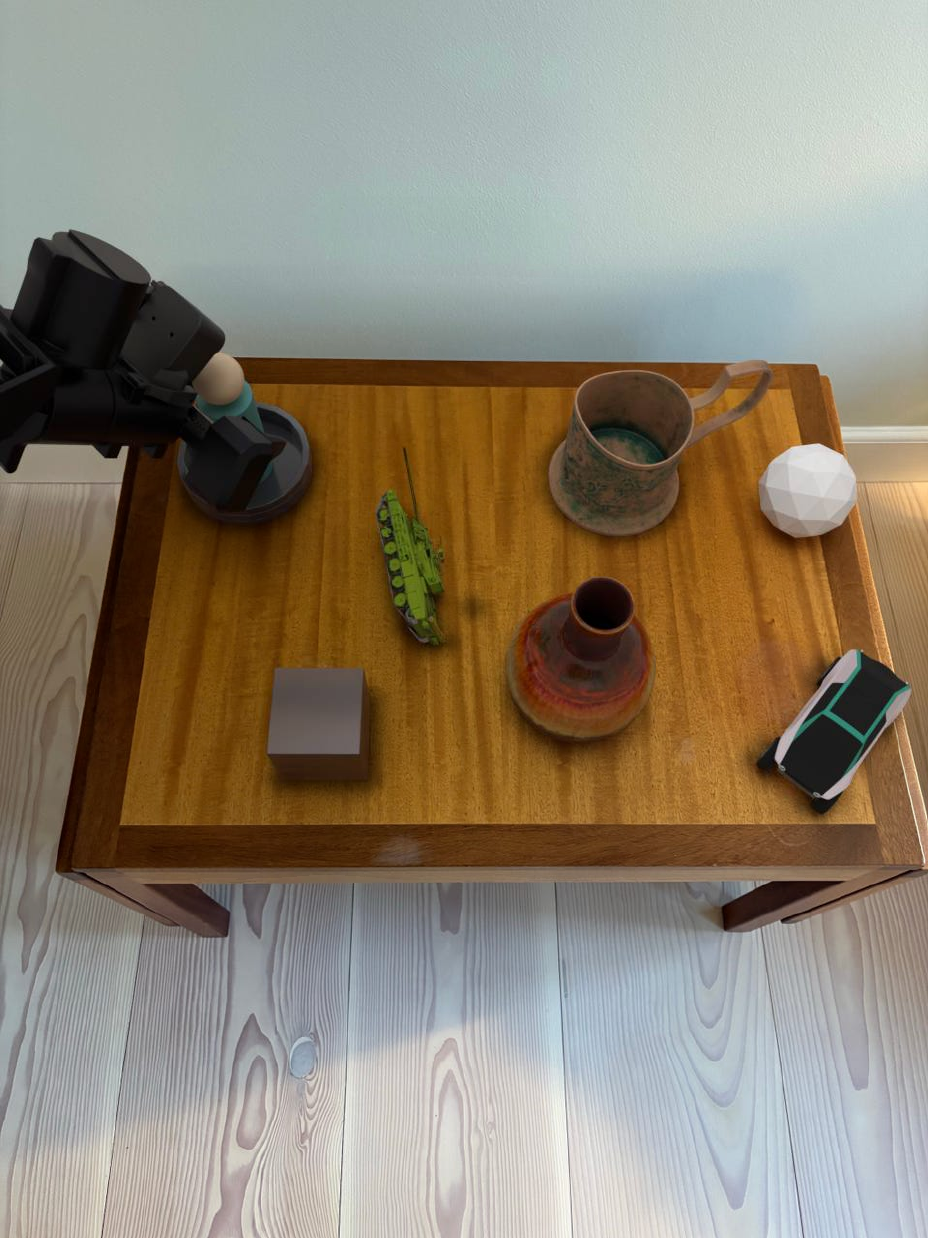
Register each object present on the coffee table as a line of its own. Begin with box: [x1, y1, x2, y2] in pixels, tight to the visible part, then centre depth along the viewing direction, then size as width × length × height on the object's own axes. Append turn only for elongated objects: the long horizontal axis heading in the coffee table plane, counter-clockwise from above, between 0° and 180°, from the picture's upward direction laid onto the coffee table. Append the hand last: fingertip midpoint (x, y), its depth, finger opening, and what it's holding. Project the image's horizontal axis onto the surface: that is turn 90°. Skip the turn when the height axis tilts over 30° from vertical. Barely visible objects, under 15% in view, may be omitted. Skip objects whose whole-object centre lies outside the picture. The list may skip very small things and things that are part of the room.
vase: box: [505, 575, 657, 744], centre depth 64 cm, size 11×11×15 cm
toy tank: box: [375, 444, 486, 646], centre depth 73 cm, size 7×19×10 cm
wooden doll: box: [192, 351, 273, 484], centre depth 72 cm, size 4×4×14 cm
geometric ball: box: [757, 443, 858, 539], centre depth 75 cm, size 8×8×8 cm
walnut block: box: [266, 667, 372, 782], centre depth 66 cm, size 6×6×7 cm
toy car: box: [755, 648, 912, 816], centre depth 67 cm, size 6×12×5 cm, turn 139°
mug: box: [547, 359, 774, 537], centre depth 75 cm, size 12×18×12 cm, turn 108°
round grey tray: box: [176, 401, 314, 526], centre depth 78 cm, size 11×11×2 cm
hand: (246, 413), depth 73 cm, fingers open, 9 cm apart
